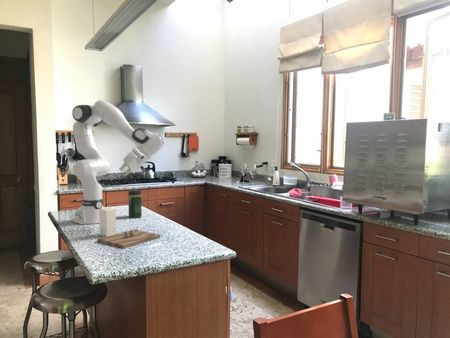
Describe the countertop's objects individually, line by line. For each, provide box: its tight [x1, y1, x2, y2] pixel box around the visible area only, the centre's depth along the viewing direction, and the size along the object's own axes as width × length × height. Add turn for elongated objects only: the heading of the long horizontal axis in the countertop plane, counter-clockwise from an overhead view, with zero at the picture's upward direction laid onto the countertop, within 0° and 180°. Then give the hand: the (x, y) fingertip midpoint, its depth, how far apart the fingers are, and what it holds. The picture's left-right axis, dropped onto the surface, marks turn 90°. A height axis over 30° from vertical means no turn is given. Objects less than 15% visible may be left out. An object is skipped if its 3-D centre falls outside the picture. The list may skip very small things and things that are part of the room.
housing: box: [98, 207, 117, 237], centre depth 198 cm, size 6×6×14 cm
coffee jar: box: [127, 188, 143, 219], centre depth 243 cm, size 10×8×19 cm
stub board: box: [96, 228, 161, 249], centre depth 189 cm, size 20×24×4 cm
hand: (121, 172), depth 206 cm, fingers open, 8 cm apart
